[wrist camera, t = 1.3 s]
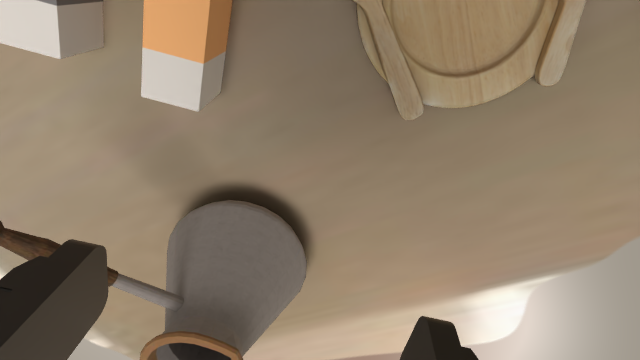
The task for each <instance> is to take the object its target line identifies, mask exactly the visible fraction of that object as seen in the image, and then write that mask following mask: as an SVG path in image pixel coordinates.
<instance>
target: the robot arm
mask: <svg viewBox="0 0 640 360" xmlns="http://www.w3.org/2000/svg"><path fill="white" fill-rule="evenodd" d="M107 297H108V274H107V254H106V249H105V247H104V246H101V245H96V244H91V243H87V242H82V241H77V240H73V239H72V240H68V241H66V242H65V243H63V244H62V245H61V246H60V247H59V248H58V249H57V250H56V251H55V252H54V253H52V254H51V255H50V256H49V257H44V256H38V257H36V258H34V259H32V260H30V261H28V262H25V263H23V264H21V265H19V266H17V267H15V268H13V269H12V270H11V271H10V272H9V273H8V274H6V275H5V276H4V277H3V278H2V279H1V280H0V360H67V359H68V358H69V356H70V355H71V354H72V352H73V351H74V350H75V348H76V347H77V346H78V344H79V343H80V342H81V340H82V339H83V338H84V336H85V335H86V334H87V332H88V331H89V330H90V328H91V327H92V325H93V324H94V323H95V321H96V320H97V319H98V317H99V316H100V314H101V313H102V311H103V309H104V306H105V304H106V301H107ZM400 360H478V358H477V357H476V355H475V354H474V353H473V351H472V350H471V349H470V348H465V347H461V345H460V341H459V338H458V335H457V332H456V329H455V326H454V324H453V323H451V322H448V321H443V320H439V319H434V318H429V317H425V316H421V317H420V318H419V319H418V321H417V323H416V325H415V327H414V330H413V332H412V334H411V336H410V338H409V340H408V342H407V344H406V346H405V348H404V350H403V352H402V355H401V358H400Z"/></svg>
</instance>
